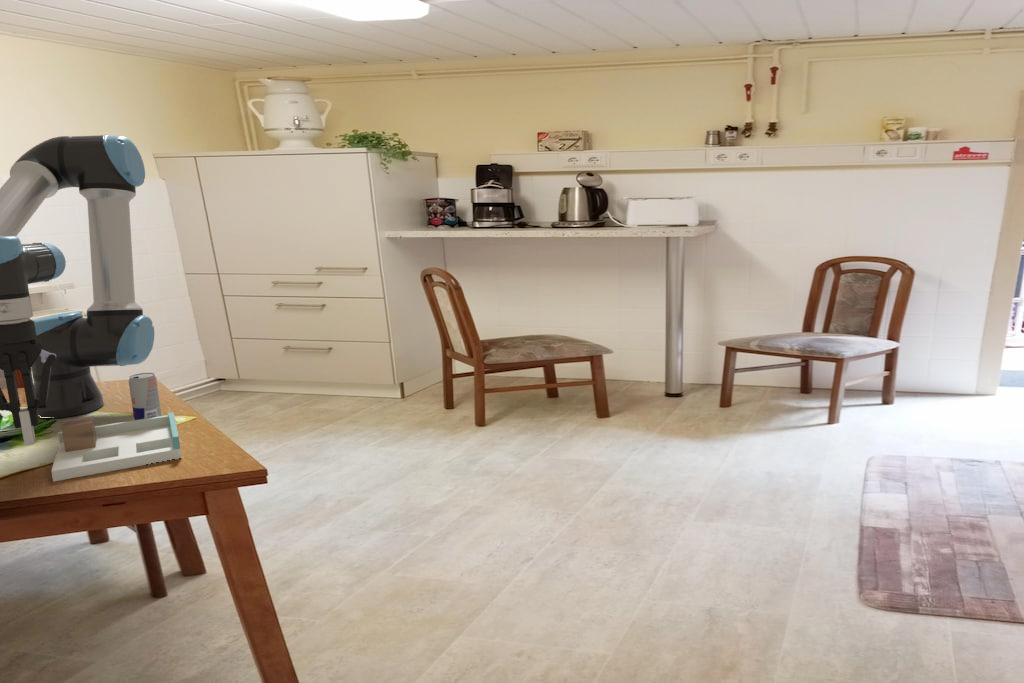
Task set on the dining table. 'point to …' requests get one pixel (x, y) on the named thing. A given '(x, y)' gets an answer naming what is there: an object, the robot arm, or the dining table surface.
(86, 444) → the walnut block
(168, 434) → the board
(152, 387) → the energy drink
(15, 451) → the dining table surface
